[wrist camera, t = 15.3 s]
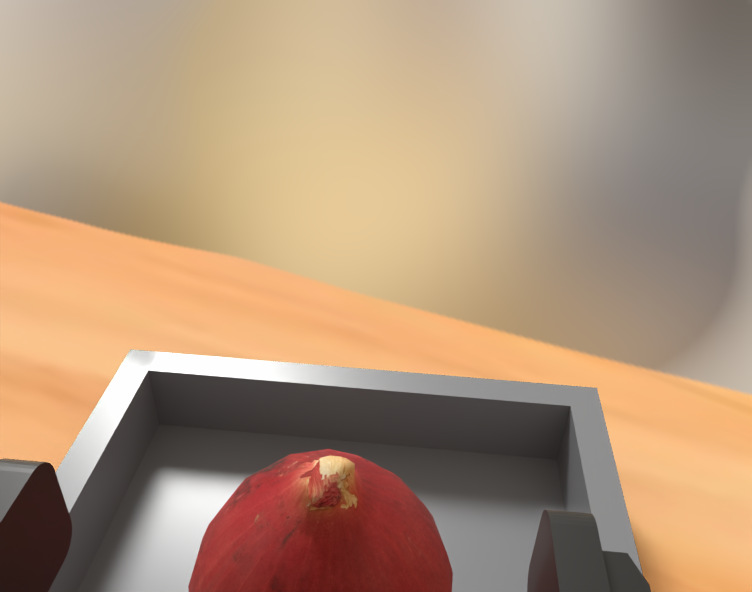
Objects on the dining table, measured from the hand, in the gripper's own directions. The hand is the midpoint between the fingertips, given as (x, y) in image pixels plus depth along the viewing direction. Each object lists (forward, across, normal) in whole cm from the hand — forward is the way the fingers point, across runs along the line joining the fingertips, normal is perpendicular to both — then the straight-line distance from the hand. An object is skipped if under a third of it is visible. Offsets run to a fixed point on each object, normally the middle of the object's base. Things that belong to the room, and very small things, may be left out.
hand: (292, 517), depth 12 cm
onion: (+2, 0, +9) cm, 9 cm away
